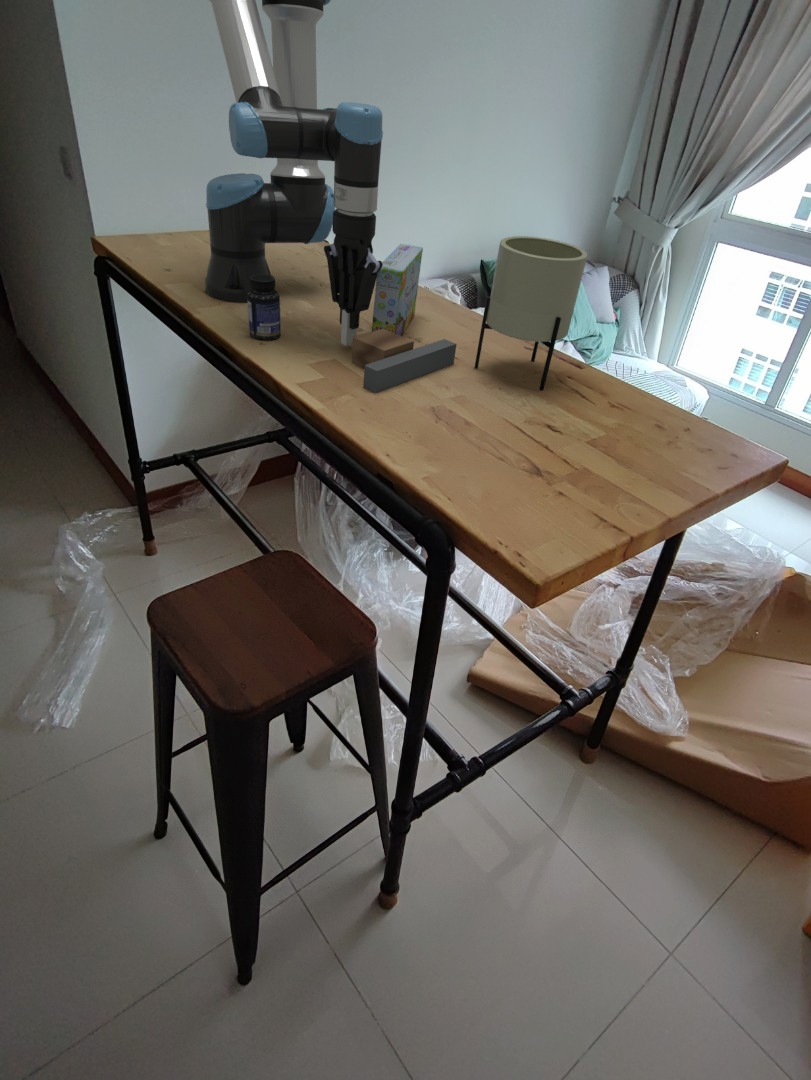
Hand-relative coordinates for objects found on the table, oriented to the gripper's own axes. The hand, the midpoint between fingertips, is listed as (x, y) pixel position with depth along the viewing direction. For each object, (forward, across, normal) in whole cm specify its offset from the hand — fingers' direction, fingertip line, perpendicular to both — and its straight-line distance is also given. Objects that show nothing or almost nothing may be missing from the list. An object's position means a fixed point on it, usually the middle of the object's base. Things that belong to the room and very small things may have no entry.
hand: (348, 342), depth 126 cm
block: (+1, +10, -1) cm, 10 cm away
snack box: (+2, -2, +16) cm, 16 cm away
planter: (+1, +28, +19) cm, 34 cm away
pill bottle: (+1, -14, -9) cm, 17 cm away
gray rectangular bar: (+1, +16, +1) cm, 16 cm away
